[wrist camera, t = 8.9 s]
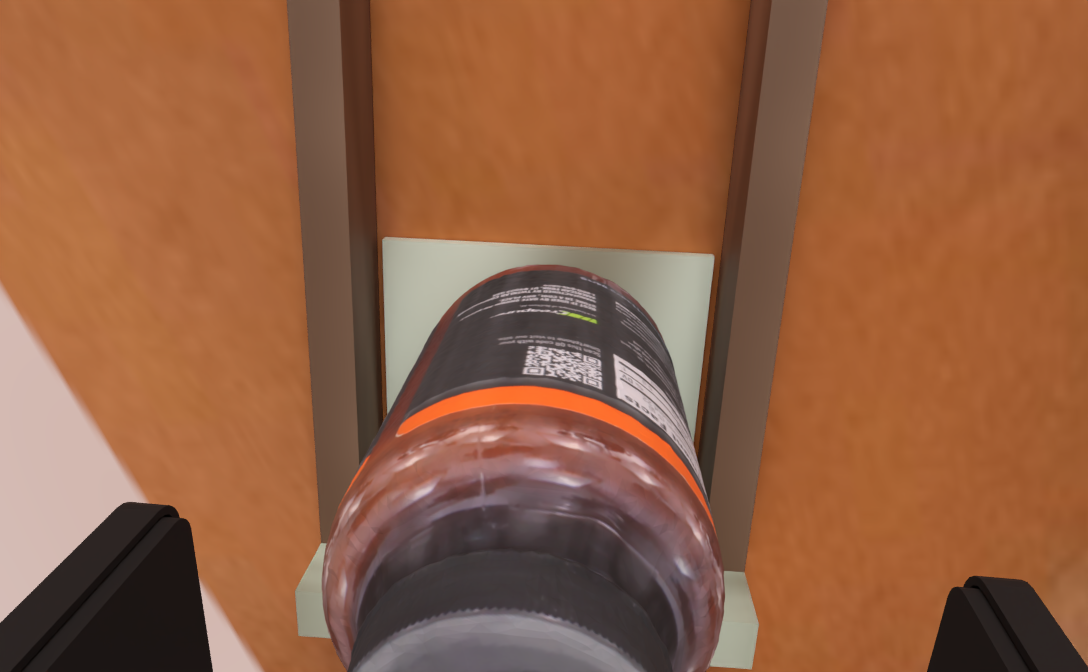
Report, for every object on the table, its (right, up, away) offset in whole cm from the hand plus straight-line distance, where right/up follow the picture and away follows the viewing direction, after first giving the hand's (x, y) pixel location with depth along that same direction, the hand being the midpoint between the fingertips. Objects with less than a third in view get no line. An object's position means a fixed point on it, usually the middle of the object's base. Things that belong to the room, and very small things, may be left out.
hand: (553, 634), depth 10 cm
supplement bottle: (0, +3, +10) cm, 10 cm away
